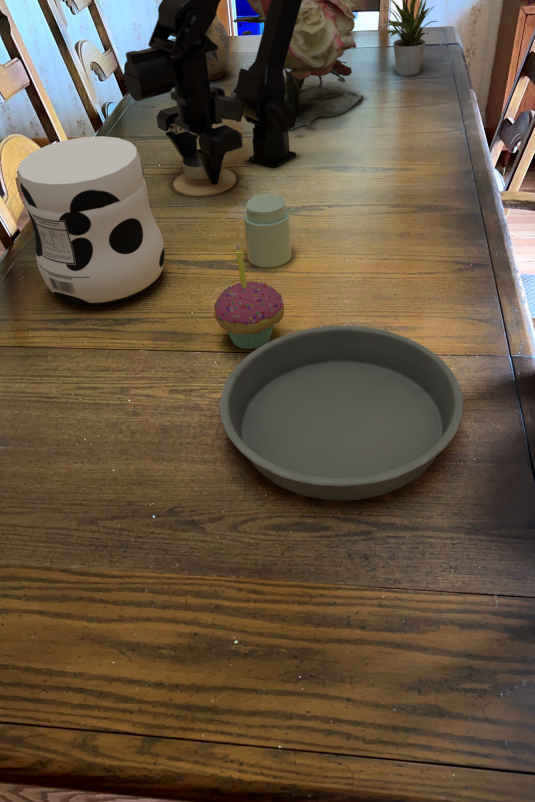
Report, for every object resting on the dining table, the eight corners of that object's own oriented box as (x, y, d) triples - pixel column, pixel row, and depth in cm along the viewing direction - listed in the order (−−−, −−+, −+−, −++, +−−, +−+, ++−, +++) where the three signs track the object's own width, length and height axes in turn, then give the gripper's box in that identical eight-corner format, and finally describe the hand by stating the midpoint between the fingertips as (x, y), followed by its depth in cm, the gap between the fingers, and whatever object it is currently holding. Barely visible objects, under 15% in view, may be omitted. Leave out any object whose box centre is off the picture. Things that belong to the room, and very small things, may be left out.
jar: (266, 241, 108) (262, 189, 102) (300, 252, 104) (298, 199, 99) (238, 259, 104) (233, 206, 99) (273, 272, 101) (268, 217, 95)
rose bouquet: (300, 138, 138) (293, -43, 118) (213, 104, 156) (194, -57, 136) (393, 102, 149) (401, -68, 129) (302, 75, 167) (296, -78, 147)
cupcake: (208, 330, 91) (196, 245, 83) (270, 311, 93) (263, 227, 85) (233, 367, 85) (222, 279, 77) (298, 346, 87) (293, 259, 79)
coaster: (203, 165, 131) (203, 162, 131) (248, 177, 126) (248, 175, 125) (160, 187, 125) (160, 185, 125) (206, 201, 119) (206, 199, 119)
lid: (176, 171, 125) (174, 159, 123) (209, 159, 128) (208, 148, 126) (196, 182, 120) (194, 171, 119) (230, 171, 123) (229, 159, 122)
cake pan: (240, 355, 87) (236, 324, 84) (448, 356, 84) (451, 324, 81) (206, 511, 68) (200, 479, 65) (471, 520, 65) (477, 486, 62)
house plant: (375, 61, 171) (377, -16, 160) (435, 59, 169) (440, -19, 158) (374, 81, 160) (376, -1, 149) (437, 79, 158) (443, -4, 147)
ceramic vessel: (201, 67, 177) (186, -50, 161) (237, 66, 176) (226, -53, 160) (188, 89, 165) (171, -36, 149) (227, 88, 164) (214, -39, 147)
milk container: (165, 244, 109) (143, 126, 97) (173, 305, 96) (149, 176, 84) (50, 261, 108) (14, 143, 96) (43, 325, 95) (0, 197, 83)
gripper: (266, 85, 112) (272, 180, 122) (204, 61, 124) (215, 150, 134) (205, 103, 107) (217, 201, 118) (148, 77, 119) (163, 167, 130)
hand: (204, 178), depth 125 cm, fingers closed on lid, 6 cm apart
